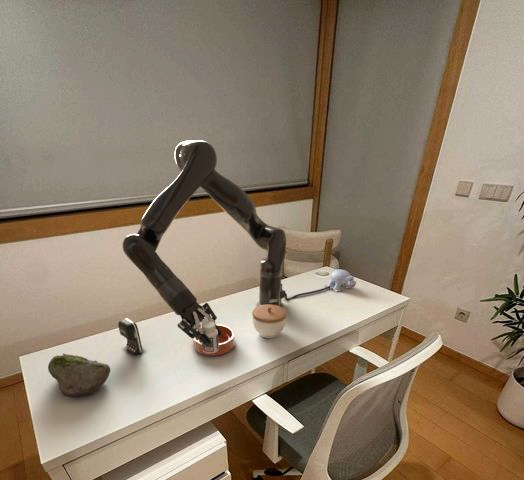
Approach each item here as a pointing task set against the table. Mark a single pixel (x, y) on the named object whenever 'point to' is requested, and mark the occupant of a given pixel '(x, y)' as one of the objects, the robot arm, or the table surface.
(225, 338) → the terracotta bowl
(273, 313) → the lidded bowl
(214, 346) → the pill bottle
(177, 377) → the table surface
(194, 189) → the robot arm
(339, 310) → the table surface
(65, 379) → the stone
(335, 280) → the hippopotamus toy
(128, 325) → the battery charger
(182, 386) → the table surface
